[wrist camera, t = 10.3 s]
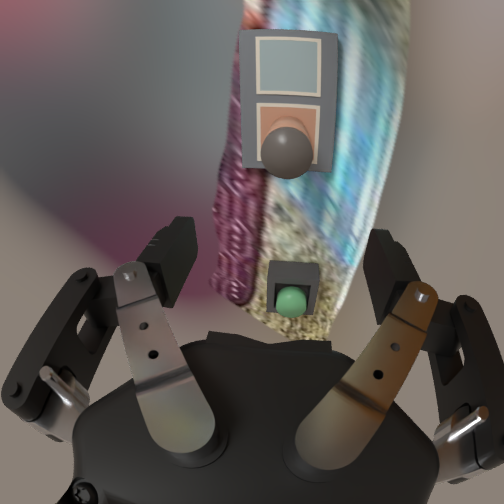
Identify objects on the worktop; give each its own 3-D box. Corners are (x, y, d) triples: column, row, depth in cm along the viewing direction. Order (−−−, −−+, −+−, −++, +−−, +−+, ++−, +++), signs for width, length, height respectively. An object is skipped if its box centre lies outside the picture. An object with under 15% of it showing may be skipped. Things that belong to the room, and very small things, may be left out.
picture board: (240, 31, 22) (238, 30, 21) (336, 35, 20) (337, 33, 19) (243, 165, 31) (242, 168, 30) (330, 169, 30) (331, 172, 29)
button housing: (269, 260, 38) (267, 276, 36) (318, 263, 38) (319, 280, 35) (268, 295, 42) (266, 311, 39) (312, 298, 41) (312, 315, 39)
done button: (277, 285, 36) (276, 295, 35) (307, 287, 36) (308, 298, 34) (276, 306, 38) (275, 316, 37) (304, 307, 38) (304, 318, 36)
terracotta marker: (262, 127, 27) (250, 146, 20) (294, 109, 25) (295, 119, 18) (282, 157, 29) (278, 187, 21) (314, 140, 27) (322, 164, 20)
